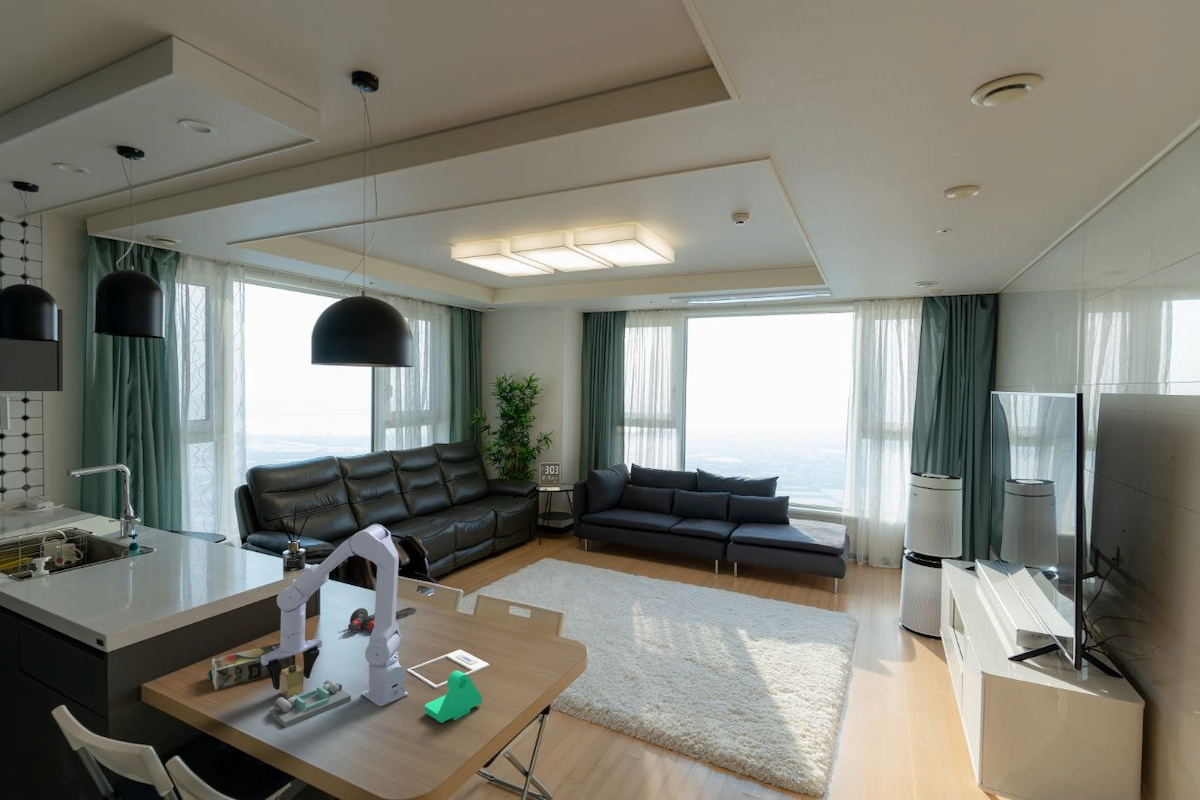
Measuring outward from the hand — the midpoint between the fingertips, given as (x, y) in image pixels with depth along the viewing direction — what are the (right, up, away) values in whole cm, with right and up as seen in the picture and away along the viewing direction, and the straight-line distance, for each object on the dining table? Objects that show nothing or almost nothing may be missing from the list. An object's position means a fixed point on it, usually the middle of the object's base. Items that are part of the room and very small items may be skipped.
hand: (291, 682), depth 150 cm
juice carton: (-16, -3, +10) cm, 19 cm away
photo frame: (+38, -4, +15) cm, 40 cm away
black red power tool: (+8, -3, +46) cm, 47 cm away
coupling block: (0, -3, 0) cm, 3 cm away
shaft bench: (+9, -3, -7) cm, 11 cm away
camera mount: (+44, -4, -8) cm, 45 cm away
